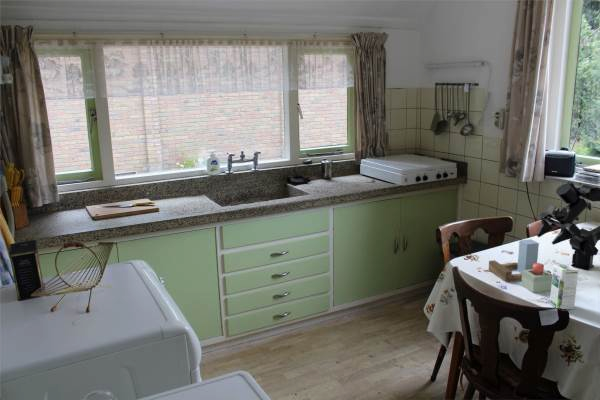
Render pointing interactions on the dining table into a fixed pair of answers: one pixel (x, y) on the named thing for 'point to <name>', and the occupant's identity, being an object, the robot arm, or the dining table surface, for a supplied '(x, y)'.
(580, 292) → the dining table surface
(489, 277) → the dining table surface
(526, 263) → the pale blue upright block
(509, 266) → the rails
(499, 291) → the dining table surface
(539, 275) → the pale green box
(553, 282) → the syrup box
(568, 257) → the dining table surface
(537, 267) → the gauge button
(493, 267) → the bar
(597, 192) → the robot arm
